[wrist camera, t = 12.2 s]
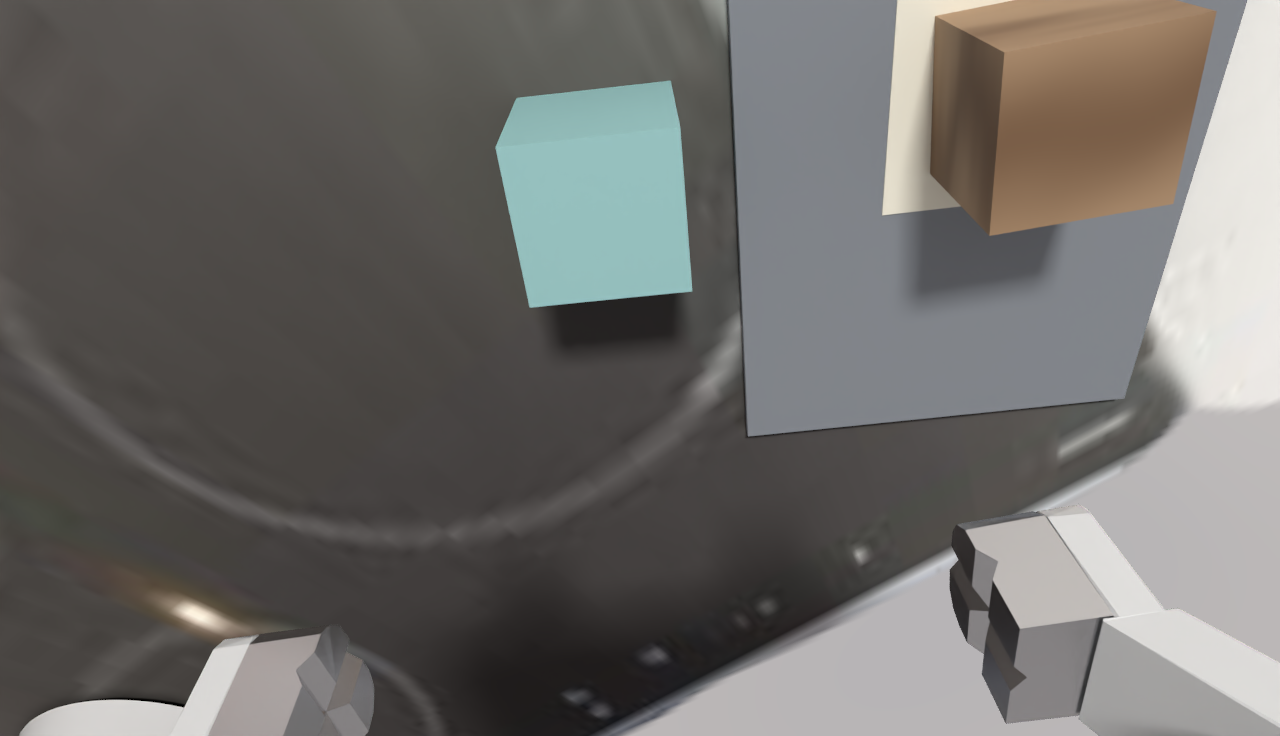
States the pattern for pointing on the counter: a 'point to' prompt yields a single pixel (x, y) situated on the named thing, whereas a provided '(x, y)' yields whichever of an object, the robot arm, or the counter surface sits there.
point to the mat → (913, 236)
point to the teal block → (597, 194)
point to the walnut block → (1064, 107)
